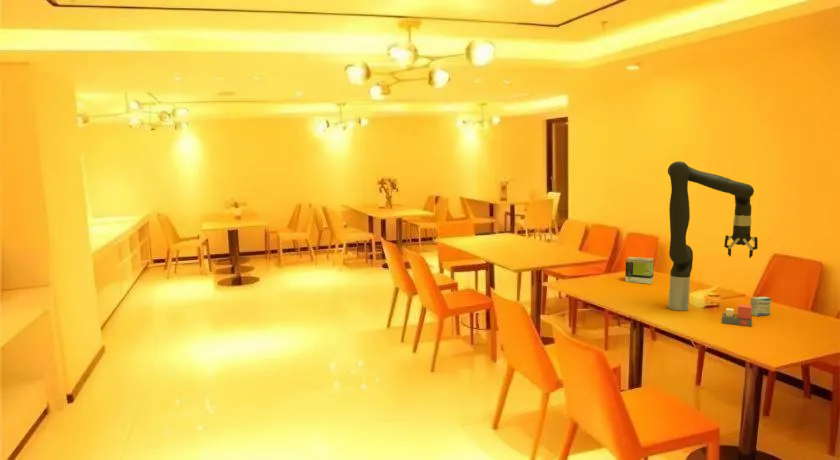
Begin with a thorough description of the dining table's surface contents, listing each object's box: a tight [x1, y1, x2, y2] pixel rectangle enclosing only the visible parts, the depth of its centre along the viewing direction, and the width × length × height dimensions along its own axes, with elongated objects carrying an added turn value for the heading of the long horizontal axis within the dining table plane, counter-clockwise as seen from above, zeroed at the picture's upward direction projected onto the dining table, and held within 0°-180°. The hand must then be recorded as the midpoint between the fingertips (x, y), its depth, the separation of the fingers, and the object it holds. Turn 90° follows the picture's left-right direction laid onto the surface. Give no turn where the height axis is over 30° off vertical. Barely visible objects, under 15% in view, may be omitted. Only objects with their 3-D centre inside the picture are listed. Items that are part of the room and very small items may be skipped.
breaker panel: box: [721, 312, 753, 327], centre depth 264 cm, size 12×8×3 cm
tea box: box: [624, 256, 655, 285], centre depth 350 cm, size 15×10×15 cm, turn 58°
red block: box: [736, 303, 752, 320], centre depth 262 cm, size 5×5×6 cm
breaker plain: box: [725, 307, 734, 317], centre depth 265 cm, size 3×3×4 cm
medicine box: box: [749, 296, 772, 317], centre depth 276 cm, size 8×4×9 cm, turn 105°
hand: (739, 256), depth 278 cm, fingers open, 8 cm apart
